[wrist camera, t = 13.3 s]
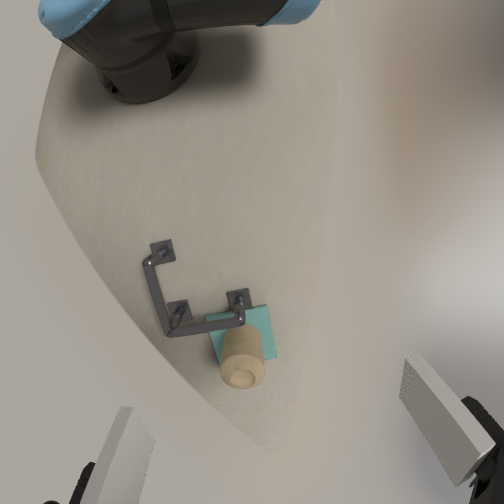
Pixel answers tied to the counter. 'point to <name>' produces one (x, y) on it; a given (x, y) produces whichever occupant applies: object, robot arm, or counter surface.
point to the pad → (253, 317)
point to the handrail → (181, 309)
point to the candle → (242, 357)
